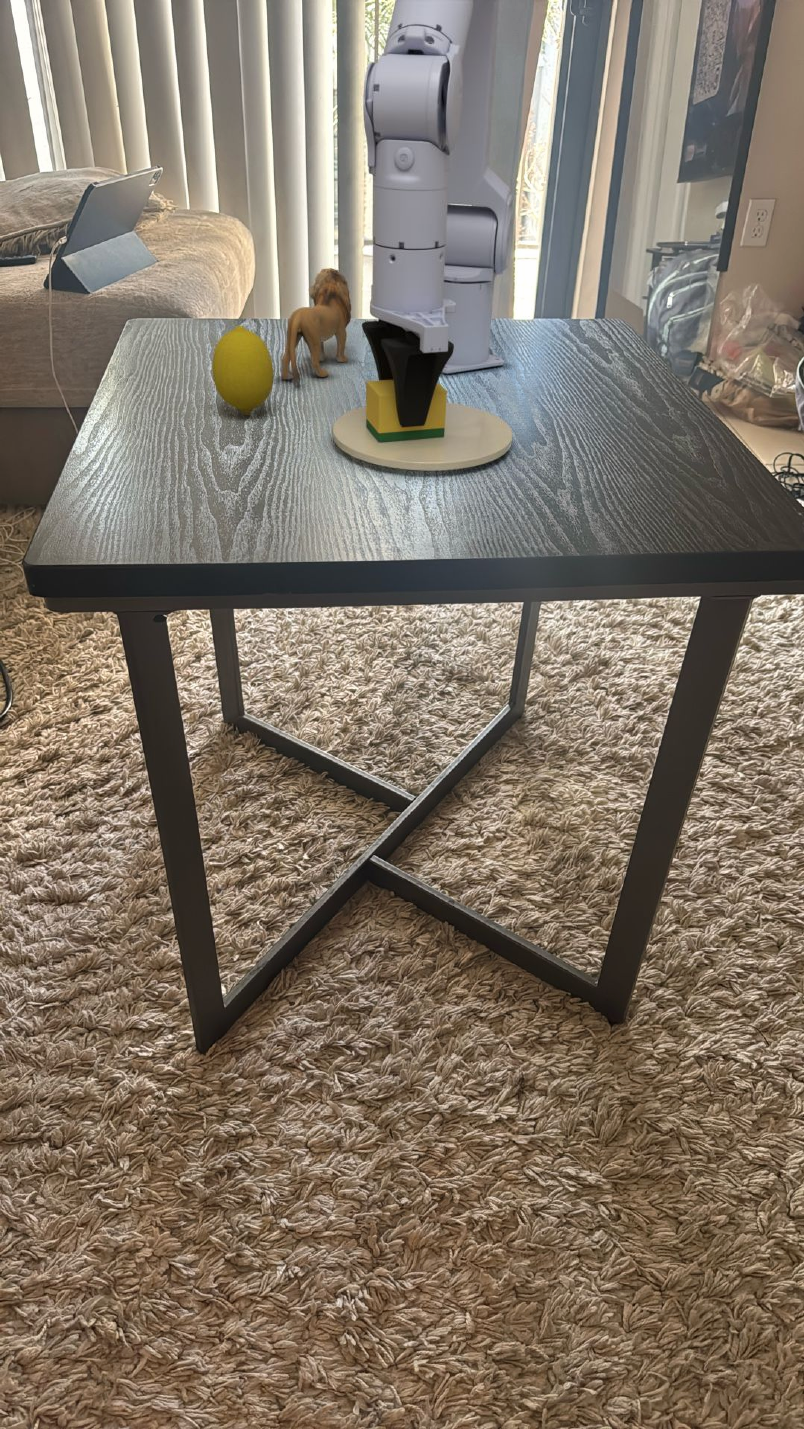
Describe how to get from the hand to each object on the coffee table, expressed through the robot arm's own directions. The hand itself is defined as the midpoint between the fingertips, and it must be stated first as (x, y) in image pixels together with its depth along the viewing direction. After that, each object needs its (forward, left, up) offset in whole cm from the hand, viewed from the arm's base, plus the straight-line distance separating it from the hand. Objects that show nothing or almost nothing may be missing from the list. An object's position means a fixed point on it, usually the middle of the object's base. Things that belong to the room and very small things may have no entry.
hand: (404, 416), depth 79 cm
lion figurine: (-25, +4, -3) cm, 26 cm away
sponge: (0, 0, -1) cm, 1 cm away
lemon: (-14, -9, -3) cm, 17 cm away
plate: (0, +2, -3) cm, 3 cm away
